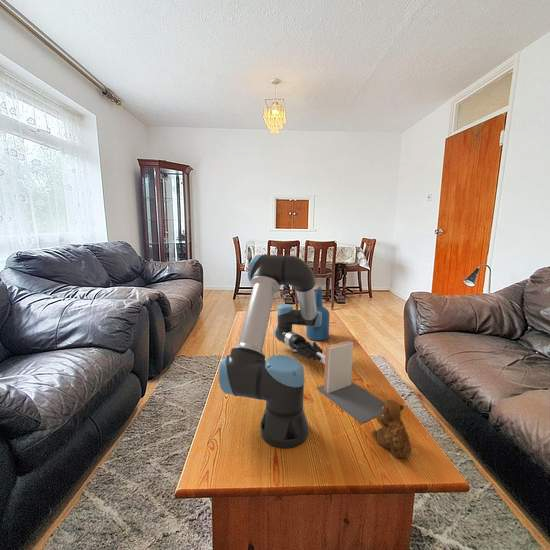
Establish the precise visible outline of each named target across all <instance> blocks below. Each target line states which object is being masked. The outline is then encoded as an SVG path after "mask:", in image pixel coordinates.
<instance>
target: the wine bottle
mask: <svg viewBox="0 0 550 550" xmlns="http://www.w3.org/2000/svg"><path fill="white" fill-rule="evenodd" d="M314 294H315V302H316V309H317V311H318V312H321V313H322V322H321V326H320V327H312V326H305V327H306V330H305V331H306V332H305V333H306V334H305V336H306V338H308V339H309V340H312V341H317V342H320V341H321V342H322V341H326V340H328V339H329V337H330V317H331V316H330V315H331V313H330V311H329V309H328V308H327V307H325V306H324V305H323V294H324V293H323V288H322V286H321V285H317V286H316V288H315V290H314Z"/></svg>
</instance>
